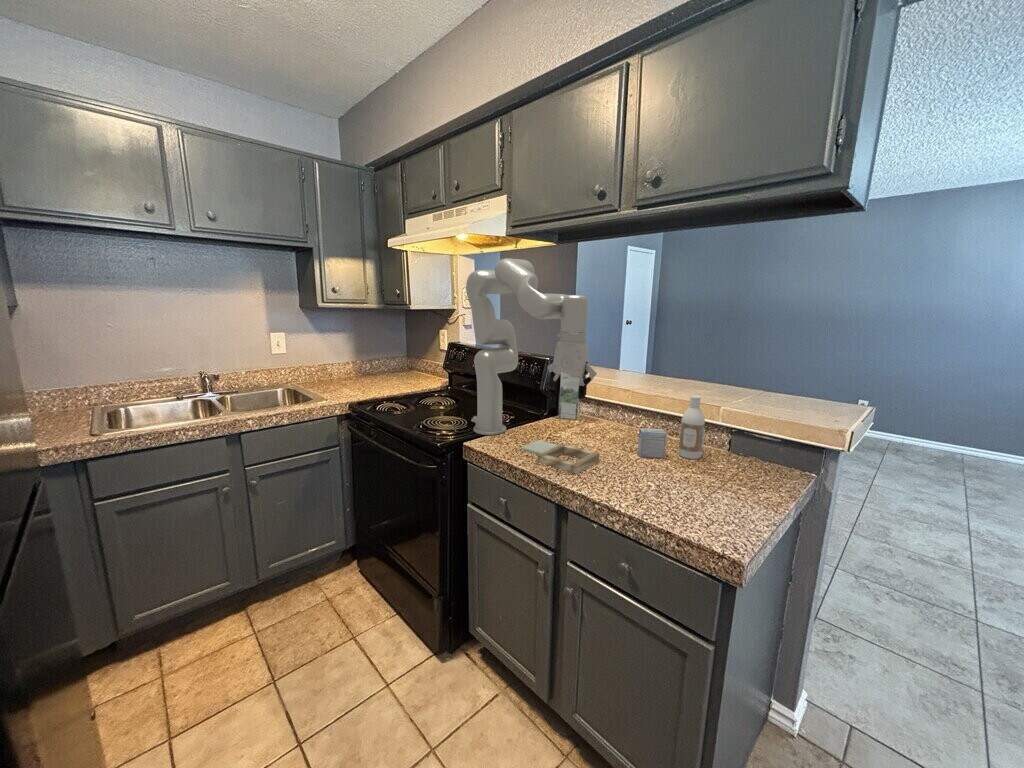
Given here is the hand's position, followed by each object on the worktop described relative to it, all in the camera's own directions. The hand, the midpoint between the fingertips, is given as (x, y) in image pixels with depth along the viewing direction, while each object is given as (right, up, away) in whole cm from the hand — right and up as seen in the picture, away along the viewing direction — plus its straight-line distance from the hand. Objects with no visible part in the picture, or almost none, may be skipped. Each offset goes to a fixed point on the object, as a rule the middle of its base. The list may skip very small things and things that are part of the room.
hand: (569, 395), depth 128 cm
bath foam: (+41, -20, +10) cm, 47 cm away
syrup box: (0, -7, +2) cm, 7 cm away
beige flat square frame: (0, -21, +4) cm, 21 cm away
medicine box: (+28, -20, +10) cm, 36 cm away
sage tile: (-8, -19, +15) cm, 25 cm away
